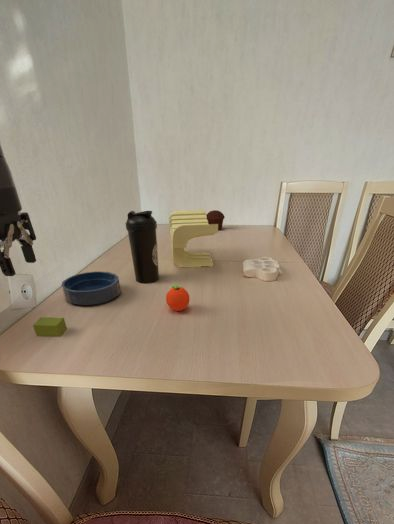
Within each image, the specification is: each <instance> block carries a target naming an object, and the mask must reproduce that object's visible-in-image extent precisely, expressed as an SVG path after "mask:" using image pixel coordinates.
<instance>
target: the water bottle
mask: <svg viewBox="0 0 394 524" xmlns="http://www.w3.org/2000/svg"><path fill="white" fill-rule="evenodd" d="M152 214H153V211H152V210H144V211H139V212H135V210H131V211H129V212H128V213H127V219H126V222H125V229H126V231H127V235H128V240H129V241H128V242H129V247H130V253H131V258H132V265H133V270H134V276H135V281H136V282H137V283H139V284H152V283H157V282H158V281H159V280H160V276H159V275H160V274H159V273H160V272H159V253H158V252H159V251H158V238H157V237H158V236H157V228H158V223H157V221H156V219H155V218H154V216H152Z"/></svg>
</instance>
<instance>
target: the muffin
mask: <svg viewBox="0 0 394 524" xmlns="http://www.w3.org/2000/svg"><path fill="white" fill-rule="evenodd" d="M206 216H207V220H208V224H218V232H219V231H222V229H223V224H224V220H225V214H224V213H223V212H221V211H220V210H210V211H209V212H207V213H206Z"/></svg>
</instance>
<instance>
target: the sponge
mask: <svg viewBox="0 0 394 524" xmlns="http://www.w3.org/2000/svg"><path fill="white" fill-rule="evenodd" d="M32 327H33V330H34V333H35V336H36V337H52V338H58V337H59V338H60V337H61V336H62V335H63V334H64V333H65V332H66V331H67V330H68V327H67V324H66V321H65V318H64V317H47V316H46V317H44V316H43V317H39V318H38V319H37V320H36V322H34V323H33V324H32Z"/></svg>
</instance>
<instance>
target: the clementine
mask: <svg viewBox="0 0 394 524" xmlns="http://www.w3.org/2000/svg"><path fill="white" fill-rule="evenodd" d="M190 301H191V299H190V294H189V292H188V291H187V289H185V288H184V287H182V286H178V285H173V286H172V288H170V289H169V290H168V292H167V293H166V296H165V302H166V304H167V307H169V308H170V309H171V310H173V311H175V312H180V311H183V310H185V309H186V308H187V307H188V306H189V304H190Z"/></svg>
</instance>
